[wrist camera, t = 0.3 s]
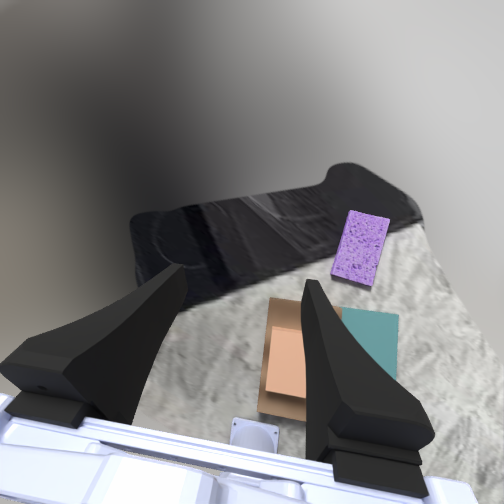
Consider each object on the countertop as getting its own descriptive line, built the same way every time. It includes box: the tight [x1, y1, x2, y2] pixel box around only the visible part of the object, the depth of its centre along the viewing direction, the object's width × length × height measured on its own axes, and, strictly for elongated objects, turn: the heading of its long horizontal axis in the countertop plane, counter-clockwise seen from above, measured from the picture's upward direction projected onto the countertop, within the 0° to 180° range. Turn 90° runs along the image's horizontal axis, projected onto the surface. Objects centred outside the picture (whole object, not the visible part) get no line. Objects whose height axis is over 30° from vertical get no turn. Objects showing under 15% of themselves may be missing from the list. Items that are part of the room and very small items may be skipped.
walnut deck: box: [257, 297, 342, 422], centre depth 37 cm, size 18×12×3 cm, turn 173°
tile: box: [266, 326, 306, 398], centre depth 35 cm, size 9×6×2 cm, turn 173°
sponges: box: [330, 210, 390, 286], centre depth 40 cm, size 7×13×2 cm, turn 161°
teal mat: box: [340, 307, 399, 380], centre depth 37 cm, size 18×10×1 cm, turn 173°
